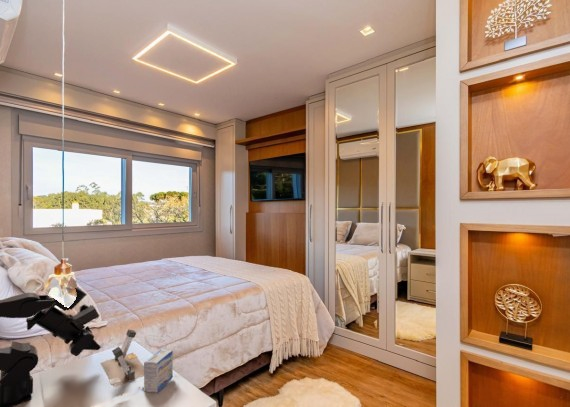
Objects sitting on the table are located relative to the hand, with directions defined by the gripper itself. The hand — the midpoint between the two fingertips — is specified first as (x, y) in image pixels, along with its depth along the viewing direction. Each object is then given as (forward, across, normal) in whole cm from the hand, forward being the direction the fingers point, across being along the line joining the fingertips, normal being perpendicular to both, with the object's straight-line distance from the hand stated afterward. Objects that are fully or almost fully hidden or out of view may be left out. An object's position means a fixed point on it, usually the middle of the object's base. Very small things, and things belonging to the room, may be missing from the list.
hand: (99, 348), depth 94 cm
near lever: (+8, -12, 0) cm, 15 cm away
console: (+10, -6, +1) cm, 11 cm away
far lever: (+8, 0, 0) cm, 9 cm away
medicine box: (+14, -20, -3) cm, 25 cm away
